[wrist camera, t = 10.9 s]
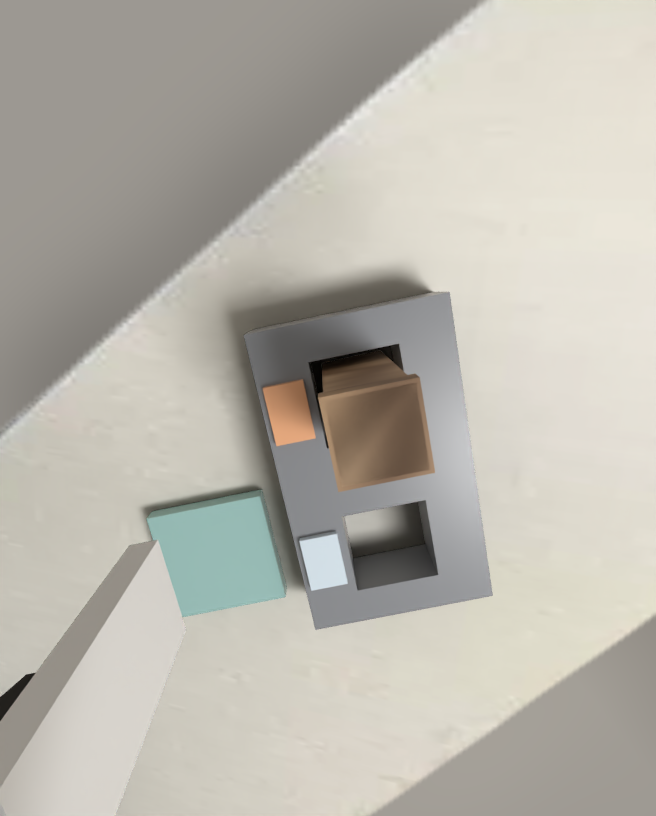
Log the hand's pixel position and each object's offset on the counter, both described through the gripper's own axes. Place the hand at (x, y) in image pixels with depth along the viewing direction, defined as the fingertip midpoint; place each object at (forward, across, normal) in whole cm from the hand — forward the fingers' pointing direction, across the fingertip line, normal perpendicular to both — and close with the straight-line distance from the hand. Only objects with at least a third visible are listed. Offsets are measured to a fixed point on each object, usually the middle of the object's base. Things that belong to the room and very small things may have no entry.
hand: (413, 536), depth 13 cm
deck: (+21, -12, -10) cm, 26 cm away
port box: (+21, 0, -5) cm, 21 cm away
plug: (+21, 0, 0) cm, 21 cm away
